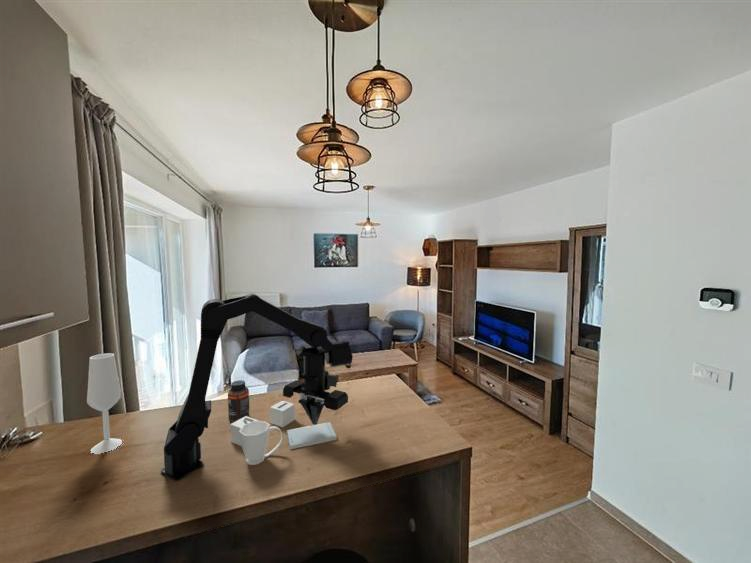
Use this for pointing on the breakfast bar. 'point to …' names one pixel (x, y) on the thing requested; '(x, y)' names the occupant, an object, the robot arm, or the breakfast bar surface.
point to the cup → (256, 441)
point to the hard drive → (310, 435)
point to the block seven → (236, 428)
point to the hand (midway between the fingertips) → (315, 423)
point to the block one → (282, 413)
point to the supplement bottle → (238, 401)
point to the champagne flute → (103, 395)
